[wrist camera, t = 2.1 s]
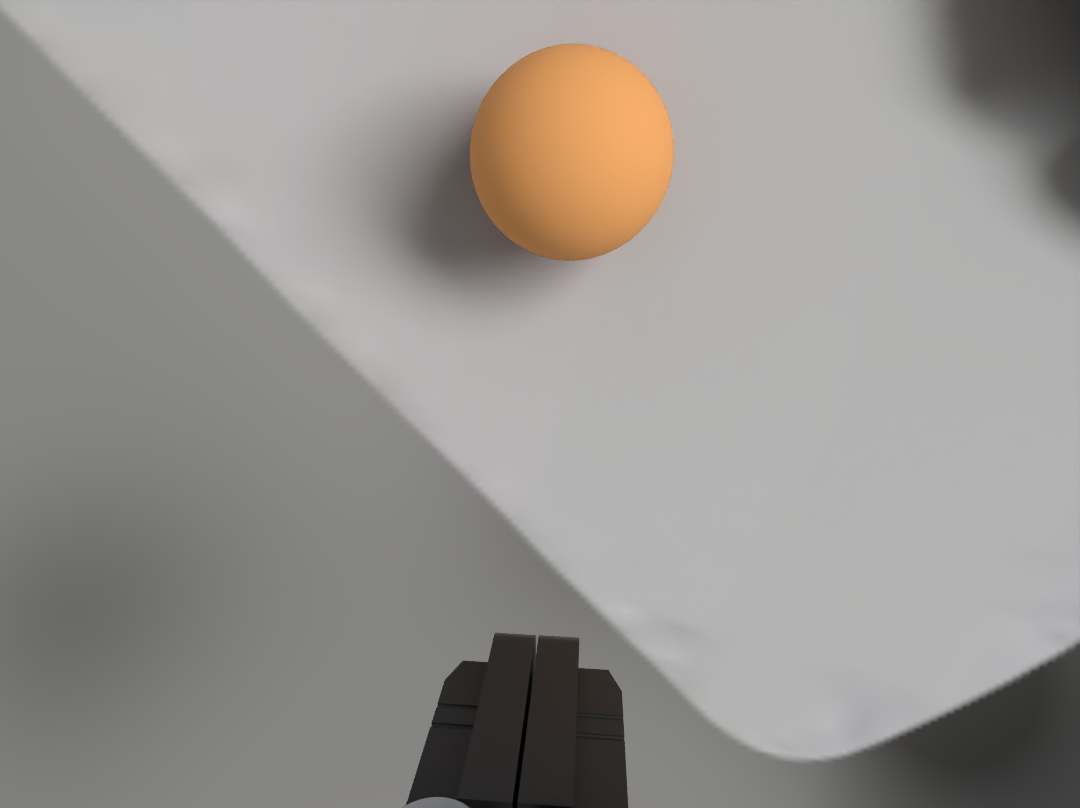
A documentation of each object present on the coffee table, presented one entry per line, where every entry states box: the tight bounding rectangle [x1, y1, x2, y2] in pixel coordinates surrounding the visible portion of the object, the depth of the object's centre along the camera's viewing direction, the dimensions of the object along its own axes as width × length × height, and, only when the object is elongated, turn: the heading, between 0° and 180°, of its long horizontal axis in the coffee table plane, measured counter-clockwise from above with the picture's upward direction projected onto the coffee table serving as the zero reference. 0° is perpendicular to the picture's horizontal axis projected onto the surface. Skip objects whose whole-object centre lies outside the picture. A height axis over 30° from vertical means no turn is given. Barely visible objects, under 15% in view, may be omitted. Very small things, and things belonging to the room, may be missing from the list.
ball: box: [470, 44, 674, 261], centre depth 19 cm, size 6×6×6 cm
